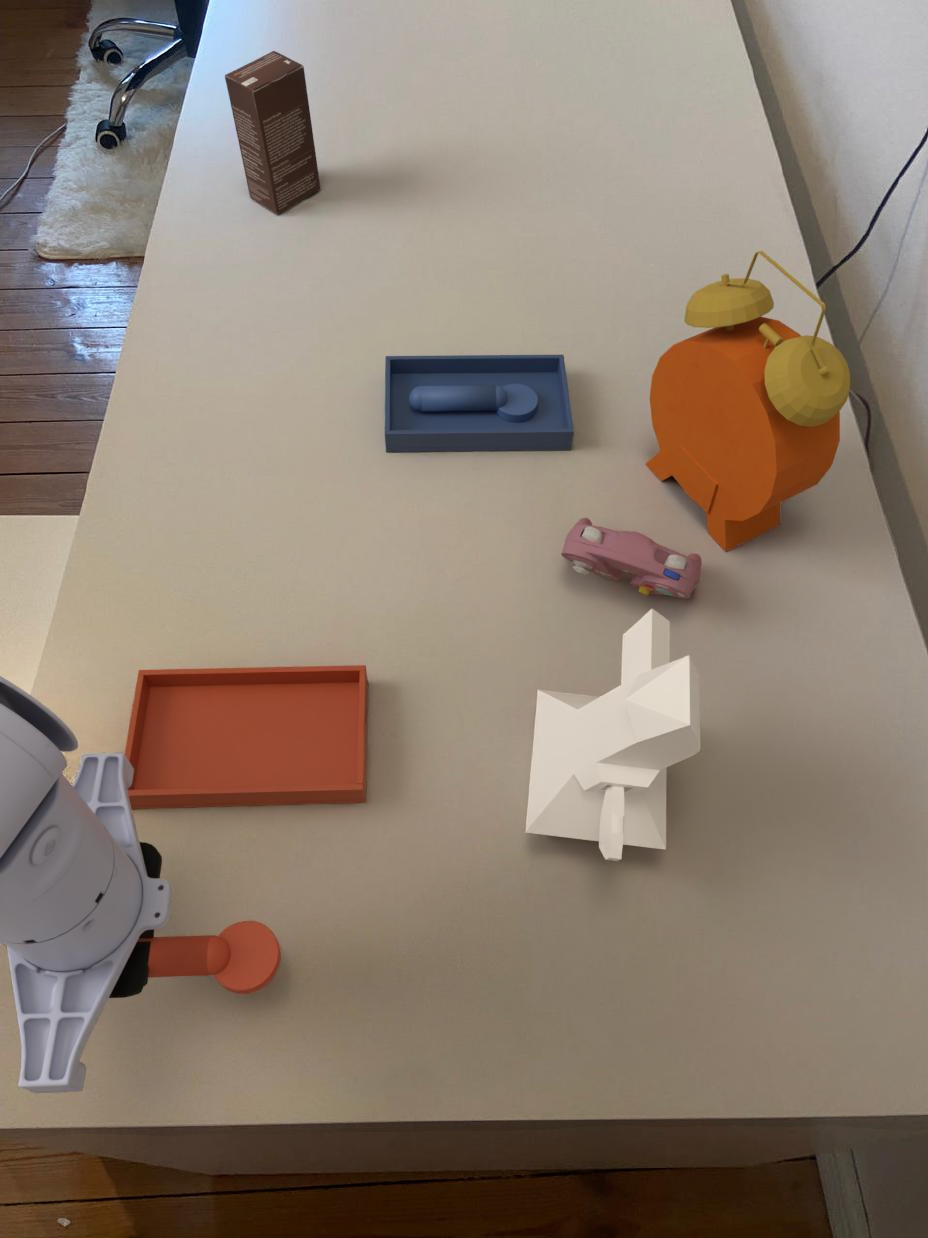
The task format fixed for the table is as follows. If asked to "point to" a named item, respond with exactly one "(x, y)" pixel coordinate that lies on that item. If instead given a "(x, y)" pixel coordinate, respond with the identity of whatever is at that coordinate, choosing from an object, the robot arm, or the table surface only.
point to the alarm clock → (746, 408)
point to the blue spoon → (478, 400)
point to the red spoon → (220, 956)
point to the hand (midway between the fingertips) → (131, 956)
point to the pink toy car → (631, 559)
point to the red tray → (248, 736)
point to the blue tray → (476, 427)
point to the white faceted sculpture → (615, 747)
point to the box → (274, 130)
